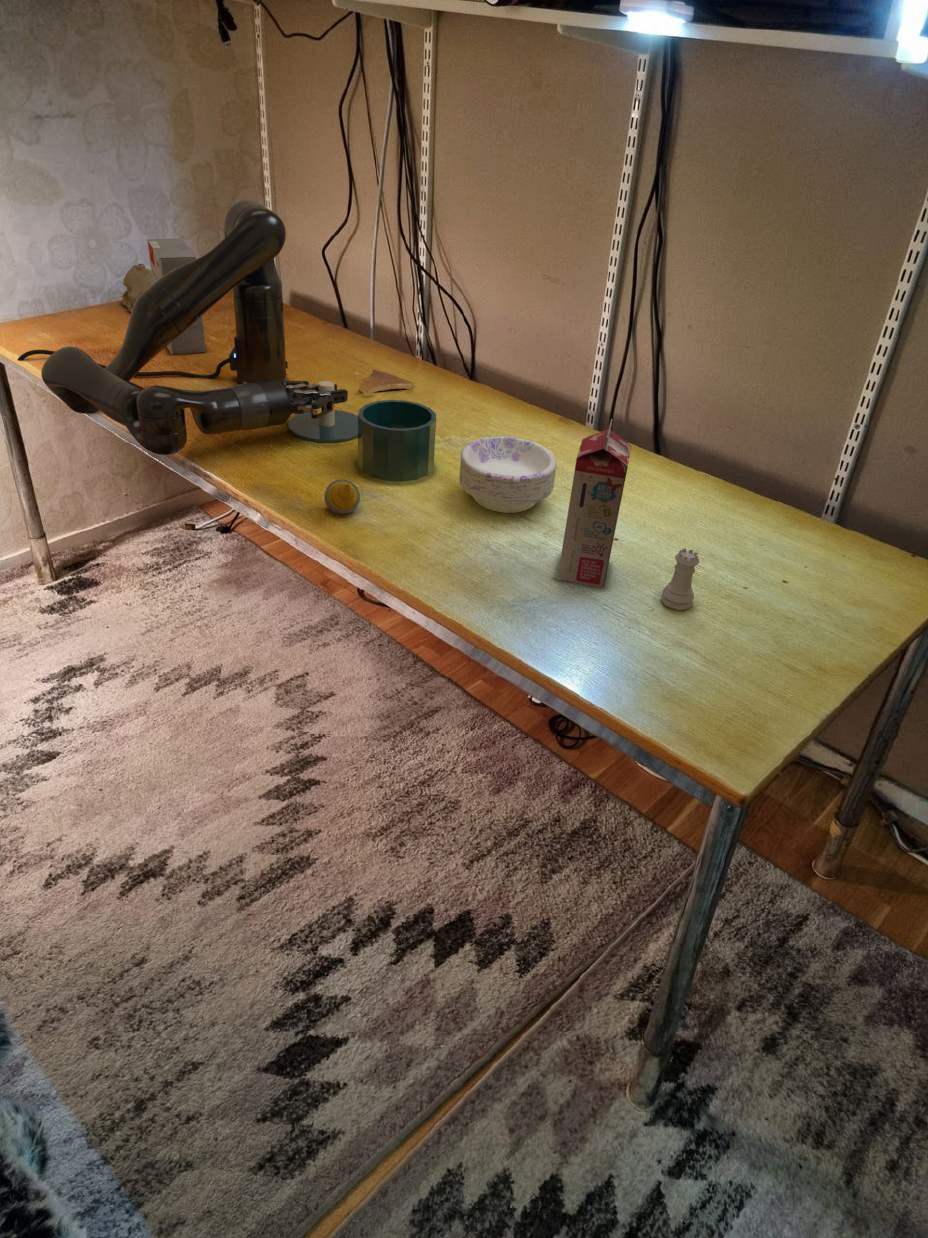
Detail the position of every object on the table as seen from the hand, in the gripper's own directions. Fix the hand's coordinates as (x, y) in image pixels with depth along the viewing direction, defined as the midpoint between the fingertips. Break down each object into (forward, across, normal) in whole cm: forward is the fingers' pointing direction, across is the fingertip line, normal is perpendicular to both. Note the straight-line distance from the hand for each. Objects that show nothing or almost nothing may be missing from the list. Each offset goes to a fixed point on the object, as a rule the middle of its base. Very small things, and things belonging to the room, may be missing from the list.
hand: (340, 392), depth 157 cm
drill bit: (-17, +28, -8) cm, 34 cm away
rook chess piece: (+6, +74, -6) cm, 74 cm away
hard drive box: (-4, -56, -7) cm, 57 cm away
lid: (-3, 0, -6) cm, 7 cm away
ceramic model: (0, -84, -7) cm, 84 cm away
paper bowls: (+7, +38, -6) cm, 39 cm away
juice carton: (+1, +61, -7) cm, 61 cm away
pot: (-1, +19, -7) cm, 20 cm away
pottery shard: (+19, -11, -6) cm, 23 cm away
